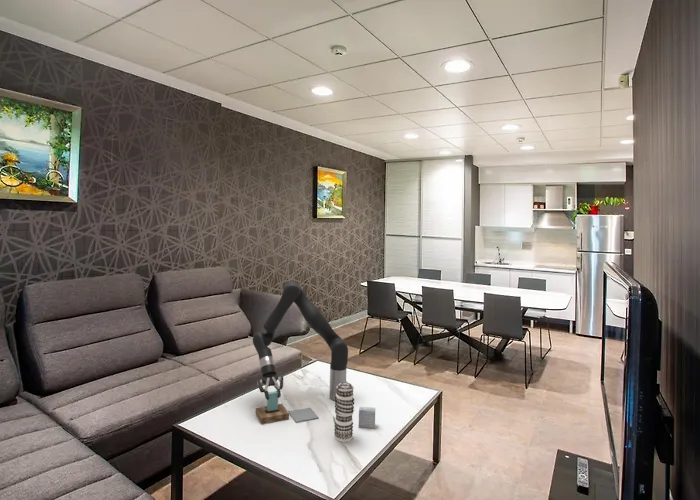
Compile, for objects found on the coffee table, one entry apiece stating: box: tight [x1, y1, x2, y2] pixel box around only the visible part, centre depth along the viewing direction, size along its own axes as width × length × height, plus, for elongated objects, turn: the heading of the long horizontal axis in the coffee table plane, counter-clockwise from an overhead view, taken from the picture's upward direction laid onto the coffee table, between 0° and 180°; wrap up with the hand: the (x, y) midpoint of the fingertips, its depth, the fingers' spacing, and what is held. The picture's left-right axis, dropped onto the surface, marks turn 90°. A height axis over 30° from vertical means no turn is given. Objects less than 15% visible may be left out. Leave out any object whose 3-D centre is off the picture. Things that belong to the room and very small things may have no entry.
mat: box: [287, 407, 319, 424], centre depth 213 cm, size 12×12×1 cm
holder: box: [254, 403, 290, 425], centre depth 211 cm, size 14×12×3 cm
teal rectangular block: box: [266, 390, 279, 411], centre depth 211 cm, size 5×2×9 cm, turn 116°
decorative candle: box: [333, 381, 355, 443], centre depth 193 cm, size 9×9×25 cm
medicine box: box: [358, 406, 376, 429], centre depth 204 cm, size 8×4×9 cm, turn 84°
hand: (273, 398), depth 209 cm, fingers closed on teal rectangular block, 5 cm apart
